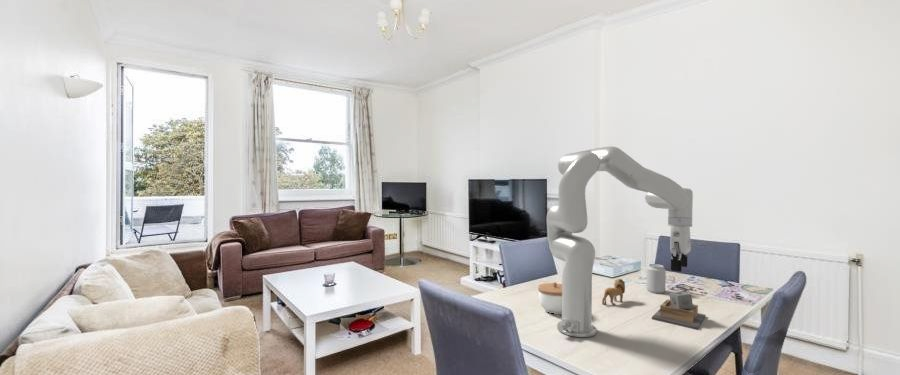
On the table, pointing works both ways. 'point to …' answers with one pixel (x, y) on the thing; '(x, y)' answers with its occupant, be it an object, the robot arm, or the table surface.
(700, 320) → the base
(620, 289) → the lion figurine
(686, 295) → the grey cube
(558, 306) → the lidded bowl
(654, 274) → the can
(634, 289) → the table surface
